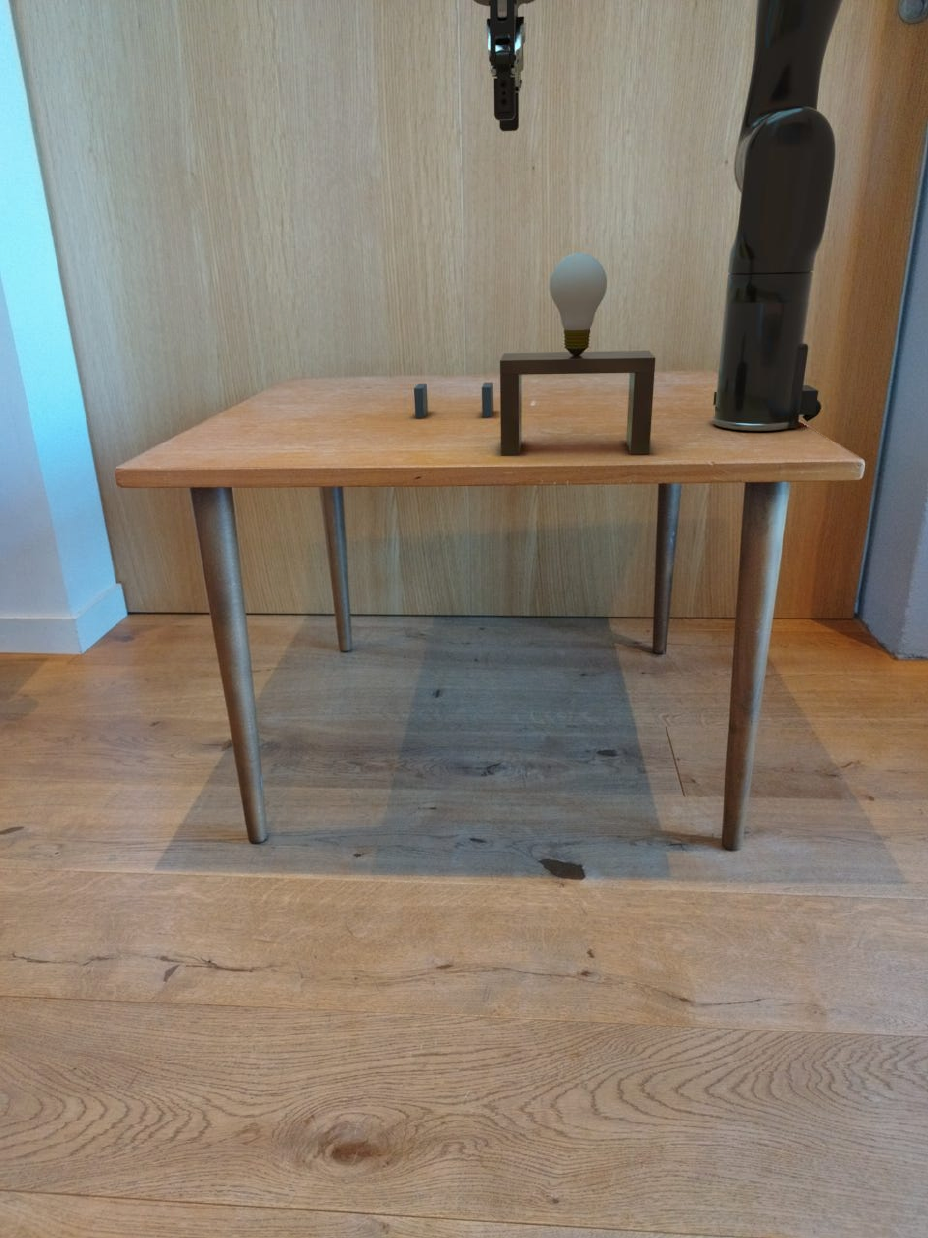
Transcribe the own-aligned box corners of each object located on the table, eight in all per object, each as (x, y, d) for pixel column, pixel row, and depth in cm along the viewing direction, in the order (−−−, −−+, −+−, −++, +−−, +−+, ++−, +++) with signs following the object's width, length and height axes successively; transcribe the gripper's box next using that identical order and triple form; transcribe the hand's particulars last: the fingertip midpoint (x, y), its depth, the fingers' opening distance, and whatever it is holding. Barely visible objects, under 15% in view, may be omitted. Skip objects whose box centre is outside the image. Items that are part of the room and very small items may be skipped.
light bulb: (577, 359, 84) (579, 253, 80) (537, 355, 88) (538, 254, 84) (615, 354, 87) (620, 251, 83) (575, 350, 91) (578, 252, 87)
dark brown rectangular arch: (643, 441, 94) (649, 350, 90) (649, 454, 88) (655, 357, 84) (504, 442, 95) (503, 353, 91) (500, 455, 90) (499, 360, 86)
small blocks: (493, 411, 114) (492, 382, 112) (491, 417, 110) (490, 386, 109) (419, 412, 115) (418, 383, 114) (415, 417, 112) (413, 387, 110)
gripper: (541, -87, 77) (539, 114, 83) (543, -39, 90) (542, 132, 96) (461, -81, 78) (466, 117, 84) (475, -34, 91) (479, 135, 97)
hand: (507, 125), depth 90 cm, fingers open, 8 cm apart
